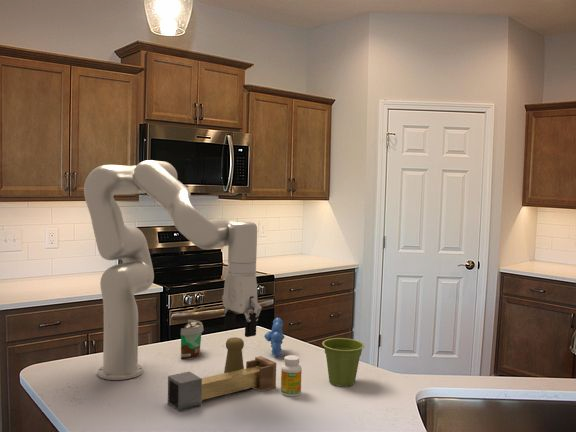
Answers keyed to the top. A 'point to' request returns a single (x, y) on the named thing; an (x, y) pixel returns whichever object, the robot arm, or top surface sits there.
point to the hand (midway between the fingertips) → (239, 331)
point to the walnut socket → (264, 373)
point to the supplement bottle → (291, 376)
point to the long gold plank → (230, 382)
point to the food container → (191, 339)
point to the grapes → (275, 336)
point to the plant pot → (342, 360)
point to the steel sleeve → (184, 391)
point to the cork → (234, 354)
